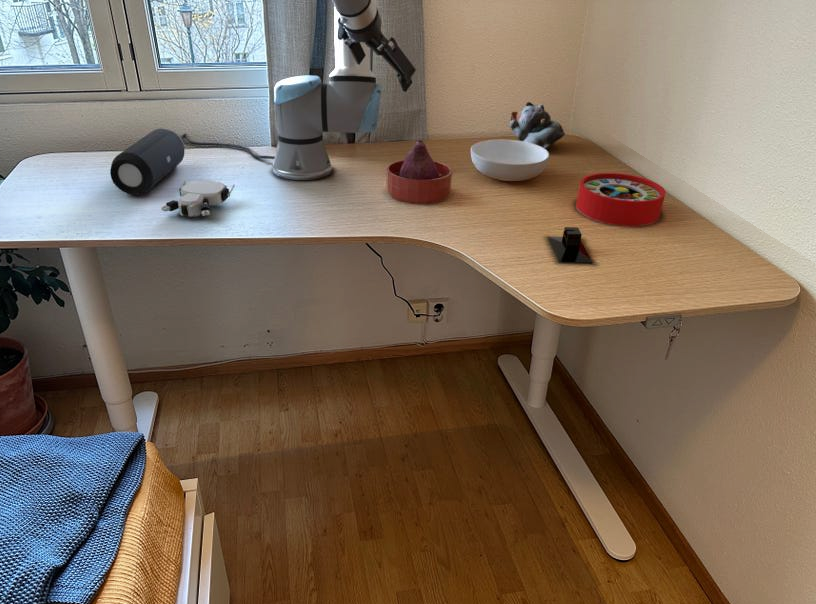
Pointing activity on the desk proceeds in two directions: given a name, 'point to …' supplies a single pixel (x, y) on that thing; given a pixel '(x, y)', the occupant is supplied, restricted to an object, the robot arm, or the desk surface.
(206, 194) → the robot toy
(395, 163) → the red round tray
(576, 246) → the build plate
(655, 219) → the toy clock
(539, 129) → the lucky cat figurine
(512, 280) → the desk surface
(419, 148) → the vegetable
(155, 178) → the portable speaker
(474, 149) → the serving bowl
